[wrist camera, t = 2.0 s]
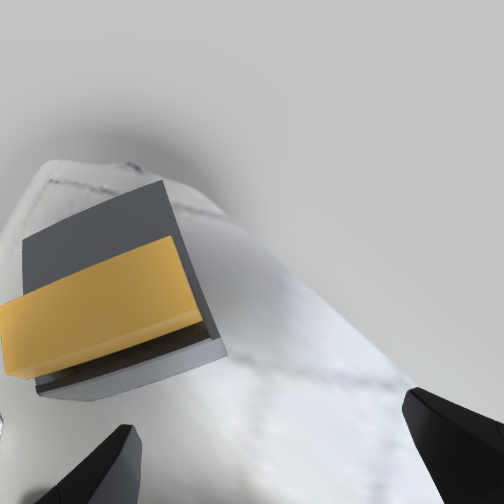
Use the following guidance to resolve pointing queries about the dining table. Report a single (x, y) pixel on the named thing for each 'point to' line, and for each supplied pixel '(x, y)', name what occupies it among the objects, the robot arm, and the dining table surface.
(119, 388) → the box
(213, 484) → the dining table surface
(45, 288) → the key
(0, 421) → the jar
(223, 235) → the dining table surface
